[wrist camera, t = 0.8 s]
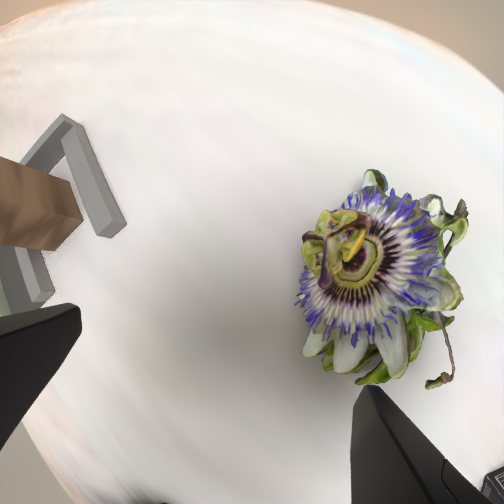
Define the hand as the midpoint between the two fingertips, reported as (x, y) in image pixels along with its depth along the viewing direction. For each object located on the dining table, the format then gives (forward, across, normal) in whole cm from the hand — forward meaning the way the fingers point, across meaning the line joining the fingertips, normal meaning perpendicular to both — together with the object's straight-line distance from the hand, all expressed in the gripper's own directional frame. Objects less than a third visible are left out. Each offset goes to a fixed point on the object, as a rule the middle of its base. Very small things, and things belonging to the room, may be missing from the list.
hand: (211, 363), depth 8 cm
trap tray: (+15, +27, +10) cm, 32 cm away
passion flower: (+13, -8, +1) cm, 16 cm away
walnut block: (+16, +20, +3) cm, 26 cm away
